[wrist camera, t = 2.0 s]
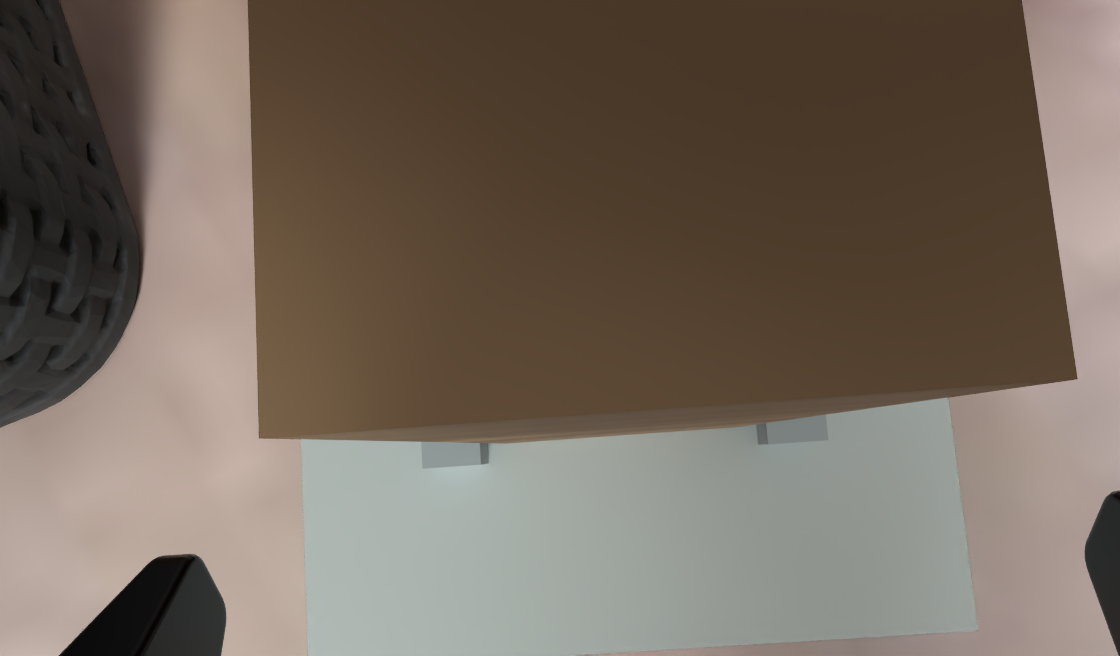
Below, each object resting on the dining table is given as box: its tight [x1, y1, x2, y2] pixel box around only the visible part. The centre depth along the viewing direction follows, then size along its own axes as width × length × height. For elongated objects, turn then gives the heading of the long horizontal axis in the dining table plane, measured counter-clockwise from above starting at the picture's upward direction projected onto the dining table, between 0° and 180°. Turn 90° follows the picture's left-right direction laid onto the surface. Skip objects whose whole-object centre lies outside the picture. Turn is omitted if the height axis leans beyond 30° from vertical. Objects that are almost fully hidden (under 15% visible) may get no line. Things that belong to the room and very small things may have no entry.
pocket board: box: [301, 397, 978, 656], centre depth 19 cm, size 14×14×2 cm
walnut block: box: [248, 0, 1077, 444], centre depth 13 cm, size 5×5×14 cm
